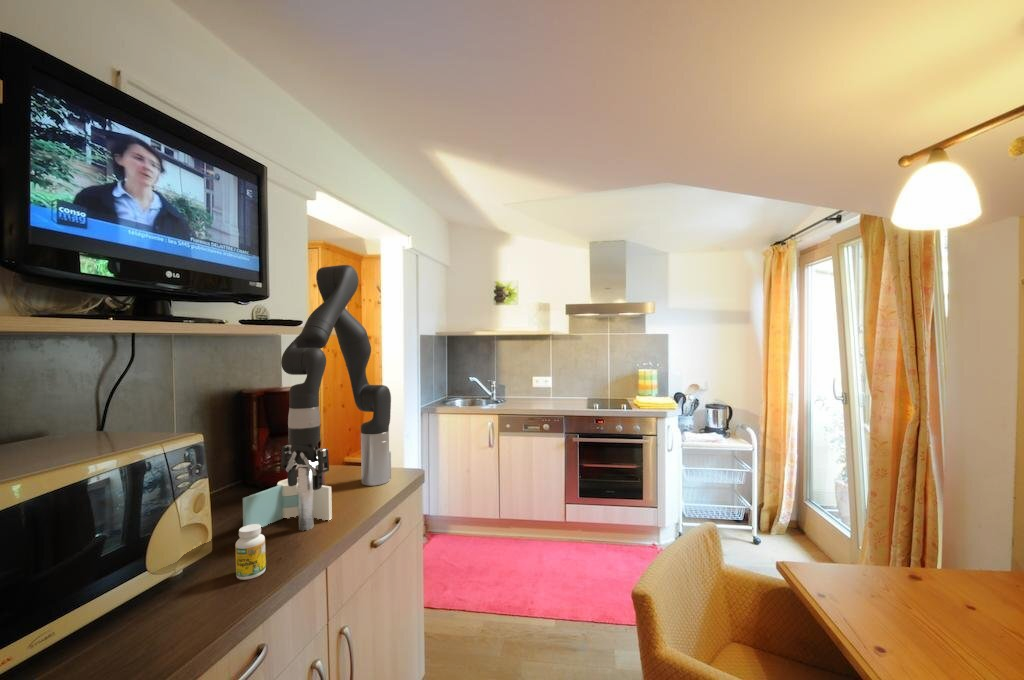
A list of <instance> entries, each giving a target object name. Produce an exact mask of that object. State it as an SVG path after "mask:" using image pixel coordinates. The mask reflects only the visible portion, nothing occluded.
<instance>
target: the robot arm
mask: <svg viewBox="0 0 1024 680" xmlns="http://www.w3.org/2000/svg"><path fill="white" fill-rule="evenodd" d="M315 278H316V285H317V287H318V291H319V293H320V296H321V299H322V301H323V302H322V303H321V304H320V305H318V306H317V307H316V308H315V309H314V310H313V311H312V313H311V314H309V316H308V317H307V320H306V322H305V323H304V326H303V328H302V330H301V332H300V334H299V335H297V336H296V337H295V339H294V340H293V341H292V342H291V343H290V344H289V345H288V346H287V347H286V349H284V352H283V354H282V356H281V359H280V365H281V368H282V370H283V372H285V373H286V374H287V375H291V376H292V375H293V376H294V375H295V376H298V375H299V376H300V375H301V376H302V375H303V376H304V375H305V377H306V378H305V380H304V382H302V383H301V382H300V383H297V384H294V385H291V387H290V388H289V393H288V394H289V395H288V397H289V398H288V400H289V402H288V403H289V405H288V406H289V407H288V409H289V410H288V417H287V419H288V420H287V425H288V427H287V429H288V430H287V431H288V432H287V433H288V434H287V435H288V436H287V437H288V441H287V442H288V444H287V445H283V446H282V447H281V453H280V454H281V455H280V457H281V458H280V460H281V461H280V468H281V469H282V470H283V469H284V470H285V471H286V472H287V479H288V486H294V485H296V484H297V477H298V467H299V466H300V465H307V467H308V468H309V469H311V471H312V473H313V490H318V489H320V488H321V487H322V474H323V473H324V472H325V473H327V472H329V471H330V464H329V462H330V459H329V458H330V457H329V448H328V447H324V448H319V445H318V444H319V442H320V441H321V411H320V389H321V384H322V380H323V376H324V373H325V371H326V366H327V357H326V354H325V352H324V350H323V348H325V347H326V345H327V343H328V342H329V339H330V338H331V337H330V336H331V335H332V332H333V329H334V331H335V334H336V338H337V343H338V344H339V345H338V346H339V349H340V351H341V354H342V357H343V359H344V363H345V366H346V369H347V374H348V377H349V380H350V386H351V391H352V395H353V400H354V403H355V405H356V407H357V409H358V410H359V411H361V412H366V413H369V412H370V413H372V419H370V420H368V421H365V422H363V423H362V424H361V425H360V458H361V459H360V462H361V464H360V465H361V466H360V467H361V468H360V470H361V484H362V485H364V486H379V485H385V484H386V483H388V482H389V481H390V480H391V479H392V452H391V451H390V430H389V429H390V423H391V409H392V395H391V390H390V388H389V387H388V386H387V385H383V384H370V383H369V381H368V377H367V373H366V372H367V371H366V370H367V367H368V363H369V360H370V358H371V353H372V345H371V342H370V338H369V335H368V332H367V330H366V329H365V327H364V326H363V324H362V323H361V322H360V321H358V319H356V318H355V316H353V315H352V313H350V312H349V311H348V309H347V308H346V307H347V306H348V304H349V303H350V301H351V300H352V298H353V296H354V295H355V293H356V291H357V290H358V287H359V283H360V282H359V276H358V273H357V270H356V269H355V268H354V267H353V266H351V265H348V264H339V265H330V266H324V267H320V268H319V269H318V270H317V271H316V276H315ZM314 460H315V463H313V462H314ZM323 463H324V468H323ZM315 467H317V469H318V470H316V468H315Z"/></svg>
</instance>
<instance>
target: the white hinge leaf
mask: <svg viewBox="0 0 1024 680" xmlns="http://www.w3.org/2000/svg"><path fill="white" fill-rule="evenodd" d="M279 485H282V496H293V495H298V476H297V484H296V485H294V486H288V478H286V479H282V480H279V481H278V482H277V484H276V486H279ZM332 496H333V494H332V486H329V485H325V486H324V485H322V487H321V488H320V489H318V490H313V511H314V518H317V519H316V520H319V519H322V520H321V521H325V520H328V521H327V522H330V521H329V520H331V519H332V520H333V512H332V511H333V509H332V506H333V505H332V504H333V503H332V501H333V497H332ZM296 516H298V517H299V505H298V506H293V507H286V508H284V507H283V518H287V519H291V518H290V517H294V518H297V517H296ZM283 518H282V519H283ZM332 520H331V521H332Z"/></svg>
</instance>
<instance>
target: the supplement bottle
mask: <svg viewBox="0 0 1024 680" xmlns="http://www.w3.org/2000/svg"><path fill="white" fill-rule="evenodd" d="M238 536H239V538H238V539H237V541H236V542H235V545H234V546H235V549H234V550H235V576H236V578H237V579H238V580H243V581H246V580H250V579H254V578H257V577H259V576H261V575H262V574H264V573H265V571H266V567H267V559H266V537H265V535H264V534H262V528H261V525H259V524H251V525H247V526H244V527H243V526H242V527H240V528H239V530H238Z"/></svg>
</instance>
